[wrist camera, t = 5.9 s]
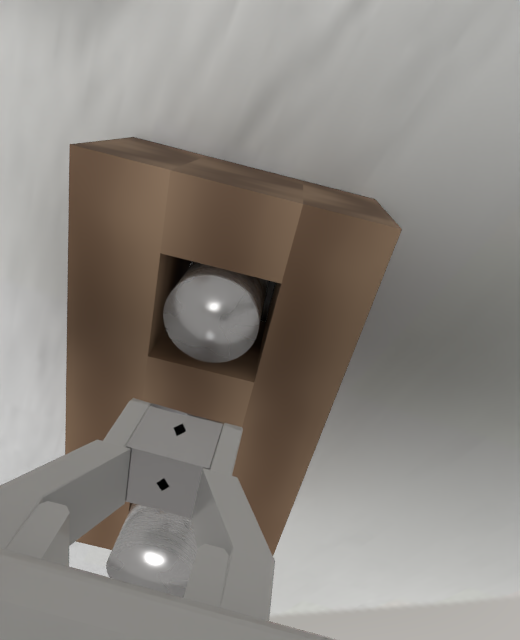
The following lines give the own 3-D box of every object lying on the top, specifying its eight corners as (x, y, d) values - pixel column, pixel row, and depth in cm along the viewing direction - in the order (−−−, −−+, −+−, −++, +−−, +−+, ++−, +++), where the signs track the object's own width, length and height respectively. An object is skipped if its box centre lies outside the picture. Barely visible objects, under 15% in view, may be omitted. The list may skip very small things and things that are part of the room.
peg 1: (224, 458, 22) (201, 558, 17) (211, 506, 24) (187, 609, 19) (153, 441, 22) (109, 536, 17) (145, 490, 24) (104, 590, 19)
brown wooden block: (375, 199, 20) (401, 229, 14) (268, 501, 30) (261, 585, 24) (133, 137, 20) (69, 144, 14) (107, 462, 29) (64, 538, 24)
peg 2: (277, 248, 21) (269, 289, 16) (259, 315, 23) (247, 372, 18) (201, 229, 21) (169, 264, 16) (190, 298, 23) (158, 350, 18)
